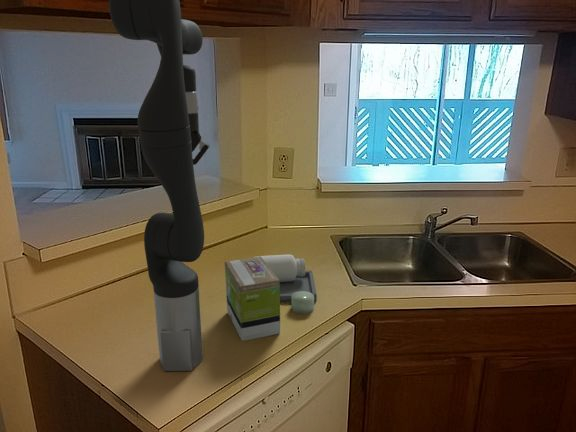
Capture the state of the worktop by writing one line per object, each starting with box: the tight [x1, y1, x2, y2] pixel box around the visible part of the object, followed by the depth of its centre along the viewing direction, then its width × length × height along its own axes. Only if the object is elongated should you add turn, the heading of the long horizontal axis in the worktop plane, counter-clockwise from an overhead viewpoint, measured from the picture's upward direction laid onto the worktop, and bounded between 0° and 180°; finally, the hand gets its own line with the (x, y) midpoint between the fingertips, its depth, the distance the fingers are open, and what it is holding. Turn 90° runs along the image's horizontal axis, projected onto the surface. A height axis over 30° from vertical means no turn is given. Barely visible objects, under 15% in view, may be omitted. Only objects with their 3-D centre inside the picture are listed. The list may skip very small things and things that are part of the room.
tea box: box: [224, 255, 281, 342], centre depth 120 cm, size 15×10×15 cm, turn 21°
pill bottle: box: [252, 253, 307, 282], centre depth 143 cm, size 8×8×15 cm
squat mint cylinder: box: [290, 291, 315, 315], centre depth 129 cm, size 6×6×4 cm
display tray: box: [280, 270, 318, 303], centre depth 140 cm, size 16×16×2 cm
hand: (185, 180), depth 123 cm, fingers closed
